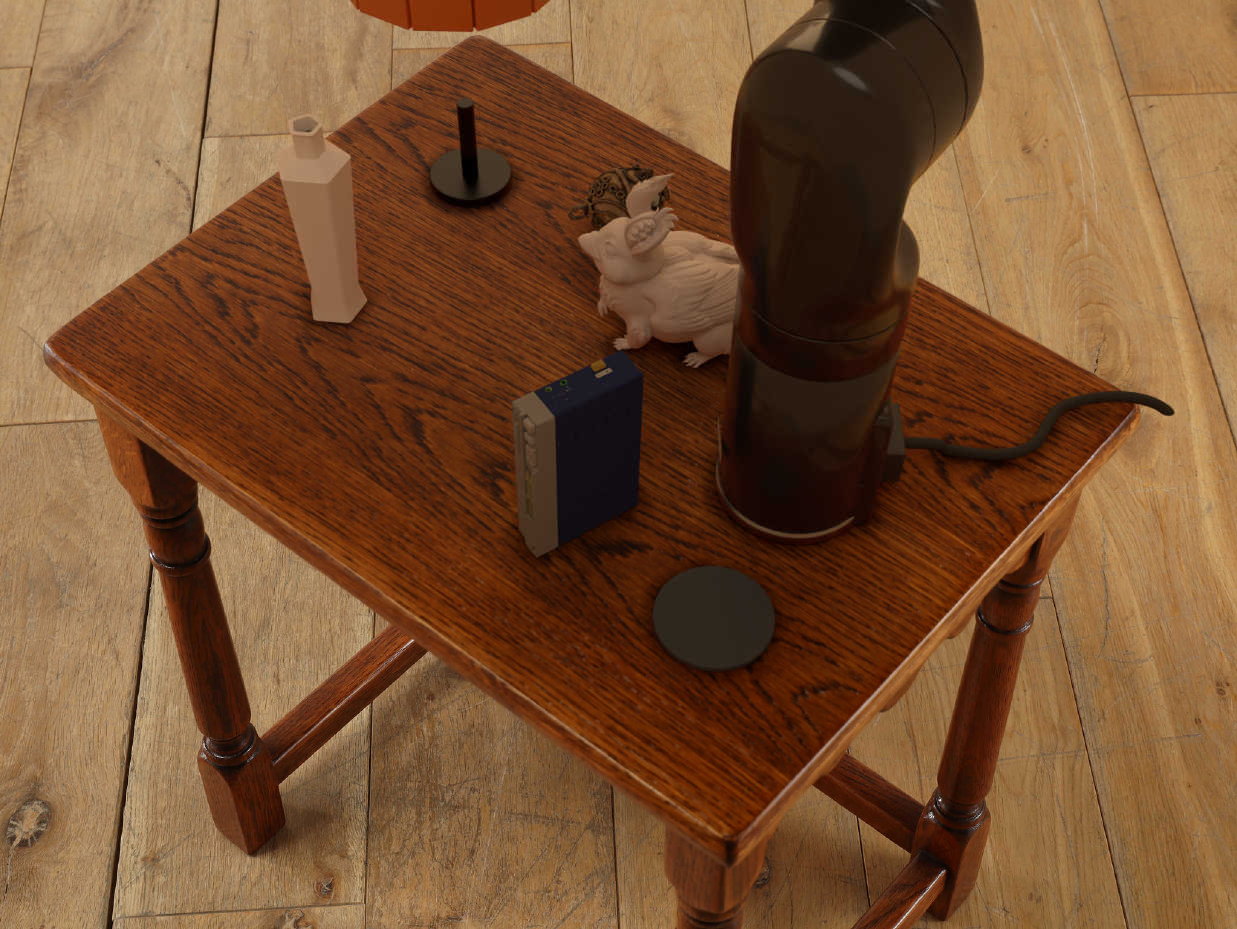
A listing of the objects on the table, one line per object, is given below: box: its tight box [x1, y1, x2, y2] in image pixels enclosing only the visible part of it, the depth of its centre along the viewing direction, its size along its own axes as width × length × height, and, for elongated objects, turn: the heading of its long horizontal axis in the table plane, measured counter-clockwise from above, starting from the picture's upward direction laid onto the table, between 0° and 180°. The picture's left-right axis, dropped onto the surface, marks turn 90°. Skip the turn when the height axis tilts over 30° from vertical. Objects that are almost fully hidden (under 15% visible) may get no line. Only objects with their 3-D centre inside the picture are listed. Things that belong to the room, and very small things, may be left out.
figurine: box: [577, 172, 740, 369], centre depth 94 cm, size 8×15×13 cm, turn 95°
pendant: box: [567, 162, 672, 231], centre depth 104 cm, size 5×8×5 cm, turn 113°
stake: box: [428, 97, 513, 209], centre depth 106 cm, size 6×6×7 cm
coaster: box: [652, 565, 776, 673], centre depth 85 cm, size 7×7×1 cm
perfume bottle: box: [276, 113, 368, 324], centre depth 95 cm, size 5×4×15 cm
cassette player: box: [511, 349, 644, 559], centre depth 85 cm, size 7×2×12 cm, turn 124°
